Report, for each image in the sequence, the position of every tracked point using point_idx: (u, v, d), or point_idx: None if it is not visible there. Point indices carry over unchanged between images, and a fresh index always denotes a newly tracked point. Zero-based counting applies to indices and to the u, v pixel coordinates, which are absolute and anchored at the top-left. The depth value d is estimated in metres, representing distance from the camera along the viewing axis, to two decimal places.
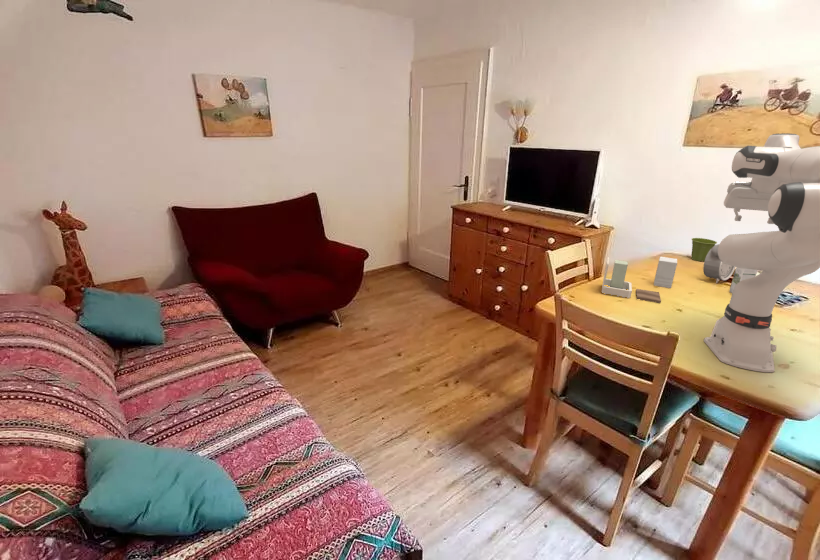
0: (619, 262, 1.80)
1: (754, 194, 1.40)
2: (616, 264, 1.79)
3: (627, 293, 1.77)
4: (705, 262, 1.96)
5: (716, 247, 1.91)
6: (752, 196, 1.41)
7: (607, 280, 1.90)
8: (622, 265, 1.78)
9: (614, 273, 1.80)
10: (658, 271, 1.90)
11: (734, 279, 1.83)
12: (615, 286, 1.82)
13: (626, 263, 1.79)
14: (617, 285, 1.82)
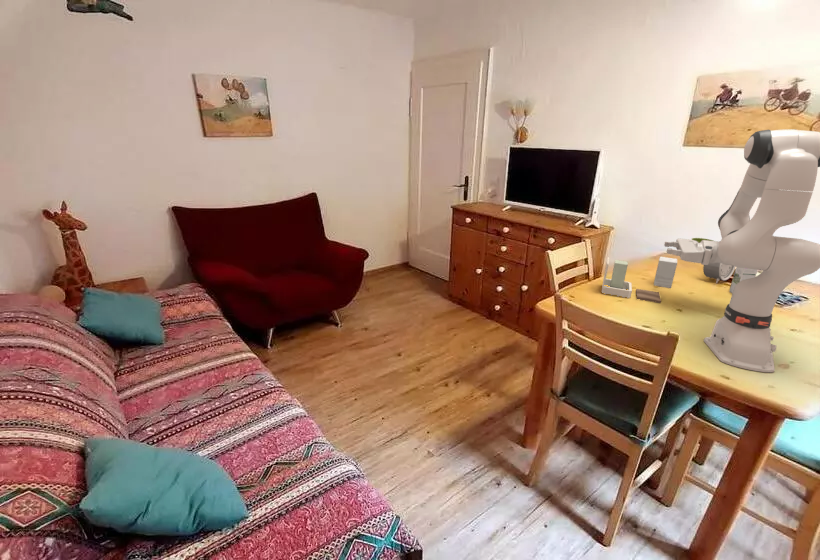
0: (619, 262, 1.80)
1: (694, 244, 1.68)
2: (616, 264, 1.79)
3: (627, 293, 1.77)
4: None
5: None
6: (691, 244, 1.69)
7: (607, 280, 1.90)
8: (622, 265, 1.78)
9: (614, 273, 1.80)
10: (658, 271, 1.90)
11: (734, 279, 1.83)
12: (615, 286, 1.82)
13: (626, 263, 1.79)
14: (617, 285, 1.82)
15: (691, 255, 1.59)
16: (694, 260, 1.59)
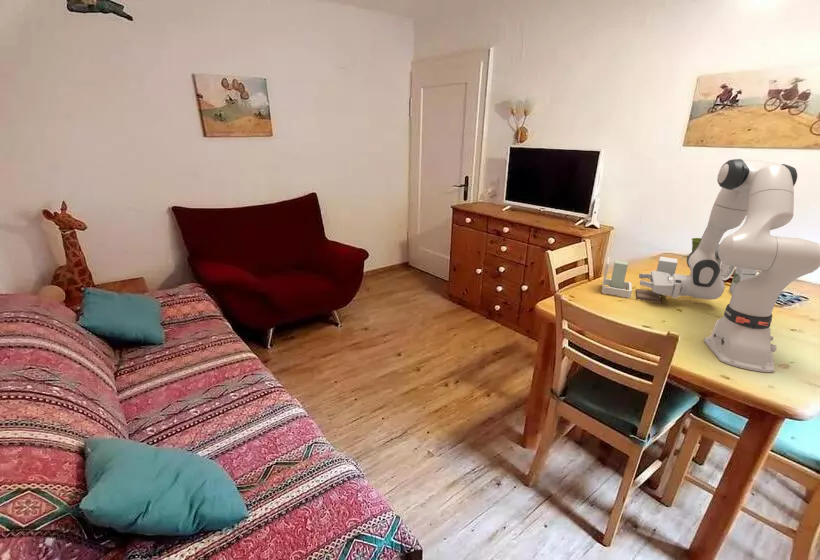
0: (619, 262, 1.80)
1: (666, 277, 1.77)
2: (616, 264, 1.79)
3: (627, 293, 1.77)
4: None
5: None
6: (664, 276, 1.77)
7: (607, 280, 1.90)
8: (622, 265, 1.78)
9: (614, 273, 1.80)
10: None
11: (734, 279, 1.83)
12: (615, 286, 1.82)
13: (626, 263, 1.79)
14: (617, 285, 1.82)
15: (662, 288, 1.67)
16: (664, 293, 1.68)
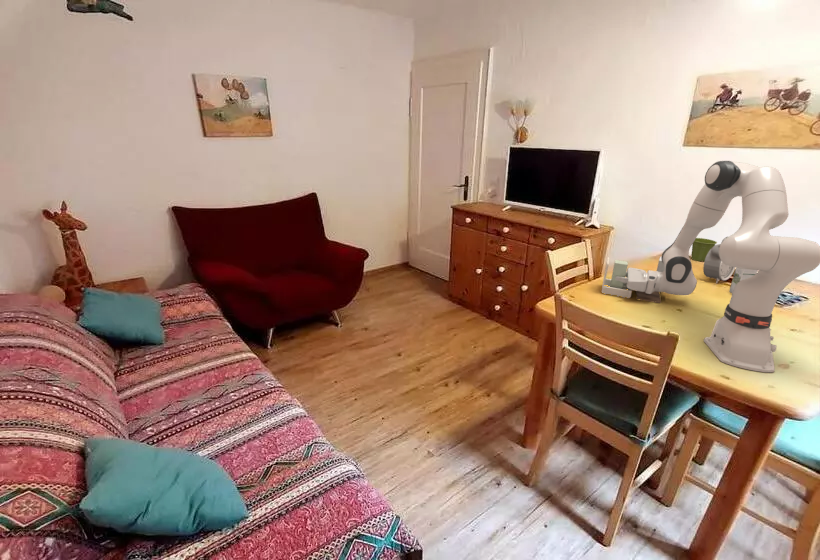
0: (619, 262, 1.80)
1: (641, 273, 1.81)
2: (616, 264, 1.79)
3: (627, 293, 1.77)
4: (705, 262, 1.96)
5: (716, 247, 1.91)
6: (639, 273, 1.81)
7: (607, 280, 1.90)
8: (622, 265, 1.78)
9: (614, 273, 1.80)
10: (658, 271, 1.90)
11: (734, 279, 1.83)
12: (615, 286, 1.82)
13: (626, 263, 1.79)
14: (617, 285, 1.82)
15: (636, 284, 1.71)
16: (638, 289, 1.72)
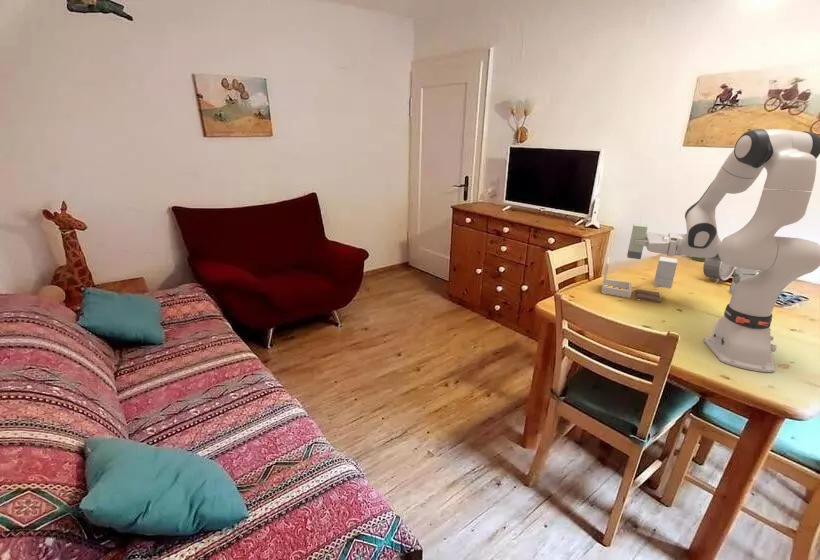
0: (638, 225, 1.72)
1: (661, 237, 1.72)
2: (635, 227, 1.71)
3: (627, 293, 1.77)
4: (705, 262, 1.96)
5: None
6: (659, 237, 1.73)
7: (607, 280, 1.90)
8: (642, 228, 1.70)
9: (633, 236, 1.72)
10: (658, 271, 1.90)
11: (734, 279, 1.83)
12: (634, 250, 1.74)
13: (646, 226, 1.71)
14: (636, 249, 1.73)
15: (657, 246, 1.63)
16: (659, 251, 1.63)
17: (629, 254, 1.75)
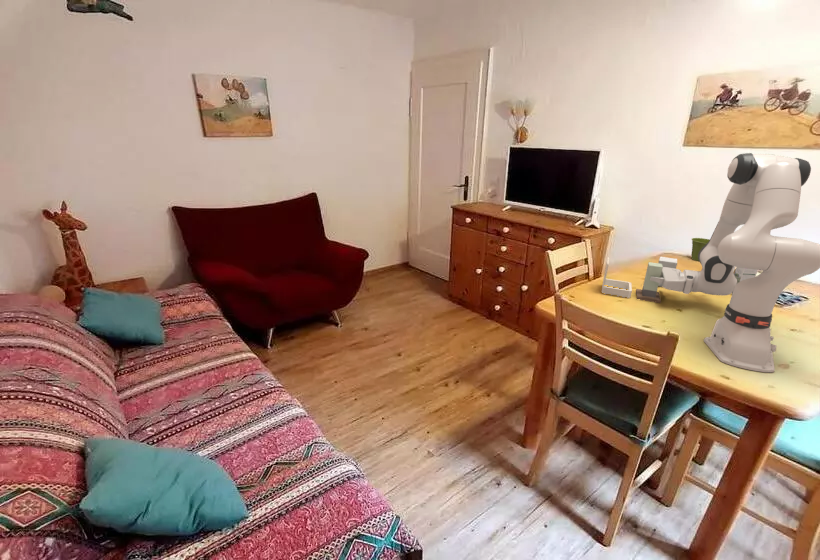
0: (653, 264, 1.74)
1: (677, 273, 1.74)
2: (650, 266, 1.73)
3: (627, 293, 1.77)
4: None
5: None
6: (674, 272, 1.75)
7: (607, 280, 1.90)
8: (657, 267, 1.72)
9: (648, 276, 1.75)
10: None
11: None
12: (649, 289, 1.76)
13: (661, 265, 1.73)
14: (651, 288, 1.76)
15: (673, 284, 1.65)
16: (675, 289, 1.65)
17: (644, 292, 1.78)
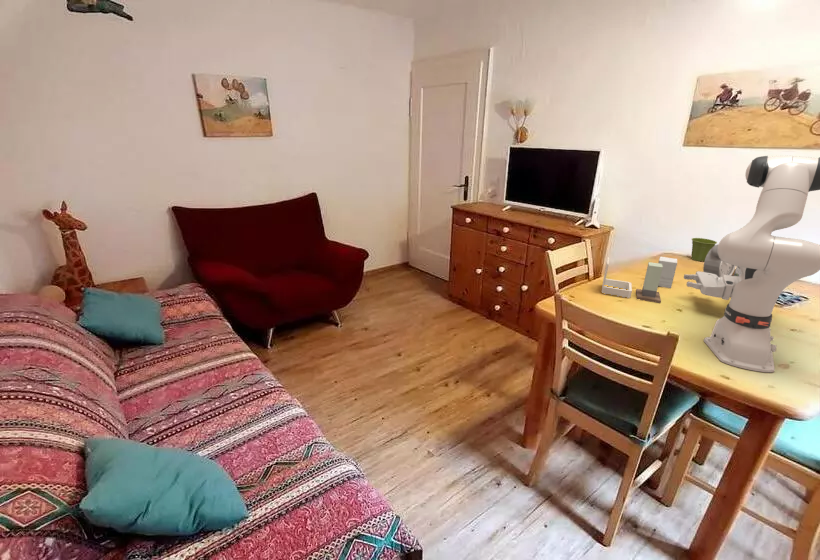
0: (653, 264, 1.74)
1: (714, 278, 1.69)
2: (650, 266, 1.73)
3: (627, 293, 1.77)
4: (705, 262, 1.96)
5: (716, 247, 1.91)
6: (711, 277, 1.70)
7: (607, 280, 1.90)
8: (657, 267, 1.72)
9: (648, 276, 1.75)
10: None
11: None
12: (649, 289, 1.76)
13: (661, 265, 1.73)
14: (651, 288, 1.76)
15: (712, 290, 1.60)
16: (715, 295, 1.60)
17: (644, 292, 1.78)
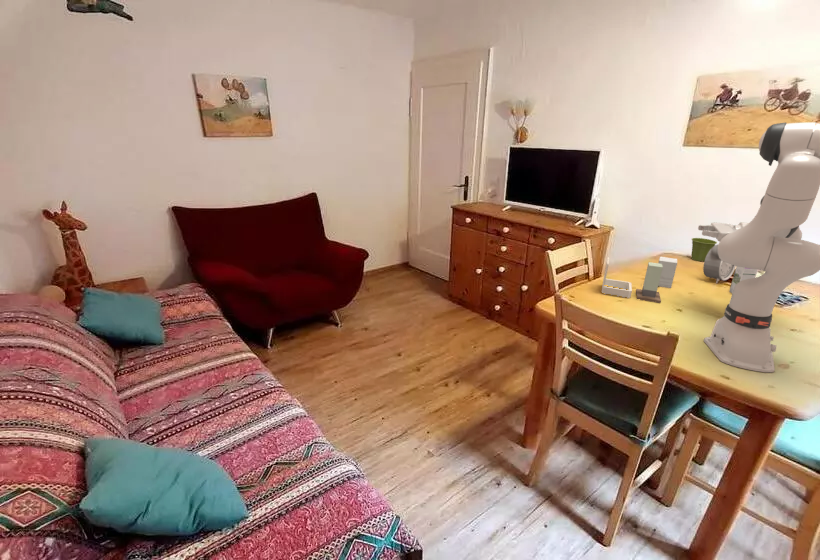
0: (653, 264, 1.74)
1: (731, 227, 1.59)
2: (650, 266, 1.73)
3: (627, 293, 1.77)
4: (705, 262, 1.96)
5: (716, 247, 1.91)
6: (728, 227, 1.60)
7: (607, 280, 1.90)
8: (657, 267, 1.72)
9: (648, 276, 1.75)
10: None
11: (734, 279, 1.83)
12: (649, 289, 1.76)
13: (661, 265, 1.73)
14: (651, 288, 1.76)
15: None
16: None
17: (644, 292, 1.78)
